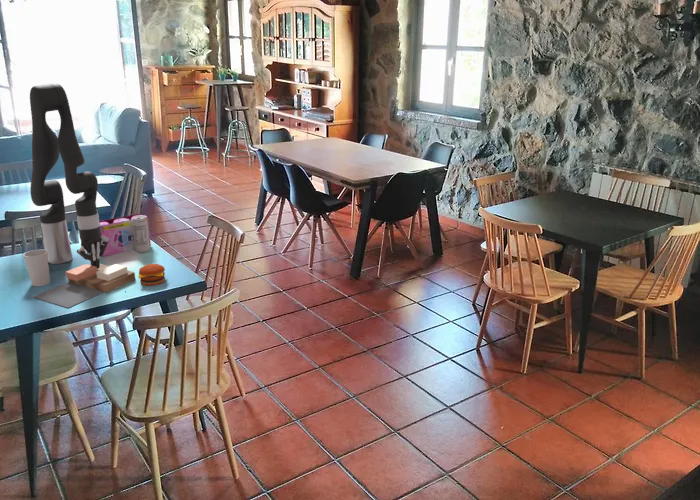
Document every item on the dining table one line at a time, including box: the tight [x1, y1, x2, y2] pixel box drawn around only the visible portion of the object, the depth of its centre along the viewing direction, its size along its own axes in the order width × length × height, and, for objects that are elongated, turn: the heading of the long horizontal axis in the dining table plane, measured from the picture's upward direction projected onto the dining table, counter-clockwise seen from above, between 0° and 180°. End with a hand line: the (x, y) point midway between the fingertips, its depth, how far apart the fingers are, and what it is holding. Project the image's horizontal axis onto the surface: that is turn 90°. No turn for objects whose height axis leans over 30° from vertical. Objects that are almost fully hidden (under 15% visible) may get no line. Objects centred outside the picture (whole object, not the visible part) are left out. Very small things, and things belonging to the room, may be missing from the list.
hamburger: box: [138, 263, 166, 287], centre depth 226 cm, size 9×10×7 cm
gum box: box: [99, 212, 152, 258], centre depth 258 cm, size 24×8×14 cm, turn 127°
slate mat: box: [32, 281, 105, 309], centre depth 216 cm, size 19×15×1 cm
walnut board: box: [67, 263, 136, 294], centre depth 227 cm, size 20×14×3 cm
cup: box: [22, 248, 51, 287], centre depth 224 cm, size 8×8×12 cm
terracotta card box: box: [64, 263, 97, 281], centre depth 225 cm, size 6×9×2 cm, turn 151°
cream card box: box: [96, 263, 128, 281], centre depth 225 cm, size 6×9×2 cm, turn 152°
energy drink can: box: [132, 215, 151, 254], centre depth 255 cm, size 6×6×15 cm
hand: (95, 268), depth 230 cm, fingers closed
